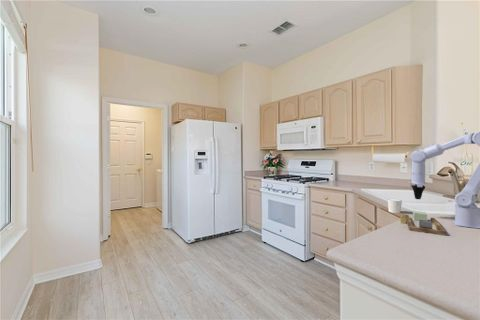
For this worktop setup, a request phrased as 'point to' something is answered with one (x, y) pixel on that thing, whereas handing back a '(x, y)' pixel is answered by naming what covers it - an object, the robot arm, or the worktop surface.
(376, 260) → the worktop surface
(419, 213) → the block
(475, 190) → the robot arm
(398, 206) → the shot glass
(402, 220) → the tan textured block
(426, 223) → the block
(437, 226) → the twin wooden rails
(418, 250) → the worktop surface
